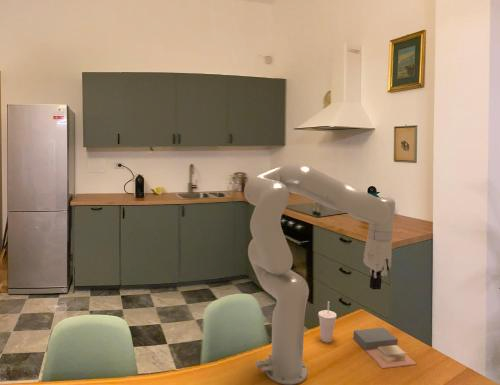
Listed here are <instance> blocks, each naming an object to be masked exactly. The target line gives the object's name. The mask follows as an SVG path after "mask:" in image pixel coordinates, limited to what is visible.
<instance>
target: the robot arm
mask: <svg viewBox="0 0 500 385" xmlns="http://www.w3.org/2000/svg"><path fill="white" fill-rule="evenodd" d="M290 192H292V193H295V194H298V195H300V196H302V197H305V198H307V199H309V200H312V201H314V202H316V203H318V204H320V205H323V206H324V207H326V208H330V209H332V210H335V211H340V212H343V213H347V214H348V215H349V217H351V218H352V219H354V220H357V221H360V222H361V221H362V222H365V223H368V231H367V232H368V233H367V234H368V235H367V239H366V240H365V246H364V252H363V264H364V265H365V266H367V268H369V276H370V279H369V280H370V281H369V288H370V289H371V290H381V289H382V279H383V278H384V277H387V276H388V272H390V270H391V266H392V253H393V251H392V241H393V233H394V232H393V230H394V224H395V223H394V220H395V213H396V212H395V211H396V201H395V200H394V199H392V198H390V197H382V196H381V197H380V196H379V197H377V196H376V195H373V194H371V193H369V192H366V191H363V190H361V189H358V188H356V187H354V186H351V185H349V184H347V183H344V182H342V181H340V180H337V179H335V178H333V177H331V176H329V175H327V174H325V173H324V172H321V171H320V170H319V169H316V168H314V167H312V166H308V165H305V164H298V163H286V164H283V165H280V166H277V167H275V168H273V169H269V170H267V171H265V172H263V173H259V174H258V175H255V176H253V177H252V178H250V179H249V180H248V181H247V182H246V183H245V185H244V189H243V193H244V197H245V199H246V201H247V202H248V203H249V204H251V205H252V206H254V210H253V212H252V213H251V218H250V222H249V228H250V233H251V236H252V239H251V240H250V242H249V244H248V247H247V255H248V260H249V262H250V265H251V267H252V269H253V271H254V273H255V276H256V278H257V280H258V282H259V284H260V286H261V287H262V289H263V290H264V291H265V292H266V293H268V294H269V295H270V296H272V297H273V298H274V299H275V300H276V304H275V307H274V309H273V311H272V319H271V354H269V355H268V358H265V360H256V361H255V368H256V369H260V368H261V372H265V374H266V375H267V377H268V378H269V379H270V380H271V381H273V382H275V383H278V384H281V385H296V384H300V383H302V382H304V381H305V380H306V379H307V377H308V368H307V366H306V365H305V364H304V363H303V360H304V359H303V358H304V339H305V338H304V337H305V336H304V335H305V314H306V306H307V303H308V299H309V295H310V294H309V293H310V290H309V285H308V283H307V281H306V280H305V278H304V277H303V276H301V275H300V274H299V273H297V272H295V271H293V270H292V269H291V268H292V266H293V261H294V260H293V254H292V251H291V249H290V247H289V244H288V242H287V238H286V237H285V234H284V232H283V228H282V224H281V219H282V215H283V213H284V211H285V210H286V207H287V206H288V204H289V201H290Z"/></svg>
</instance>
